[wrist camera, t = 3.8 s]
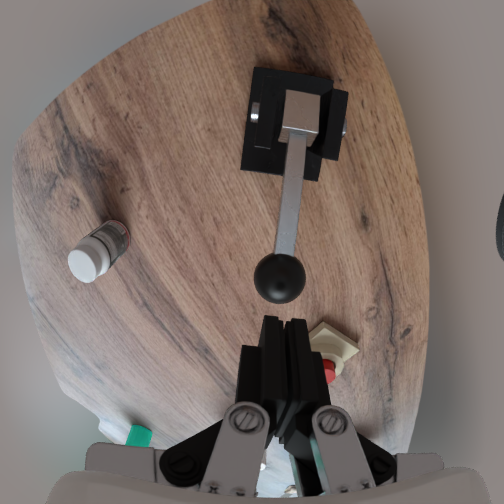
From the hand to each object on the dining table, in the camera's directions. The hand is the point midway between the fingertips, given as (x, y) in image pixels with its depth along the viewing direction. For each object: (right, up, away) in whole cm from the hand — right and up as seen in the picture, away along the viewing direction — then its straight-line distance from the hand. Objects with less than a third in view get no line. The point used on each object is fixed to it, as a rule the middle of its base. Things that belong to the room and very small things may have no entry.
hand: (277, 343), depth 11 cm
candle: (-30, -44, +45) cm, 70 cm away
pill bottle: (-19, +6, +21) cm, 29 cm away
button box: (+9, -11, +28) cm, 31 cm away
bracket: (+2, +17, +15) cm, 22 cm away
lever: (+1, +7, +6) cm, 10 cm away
